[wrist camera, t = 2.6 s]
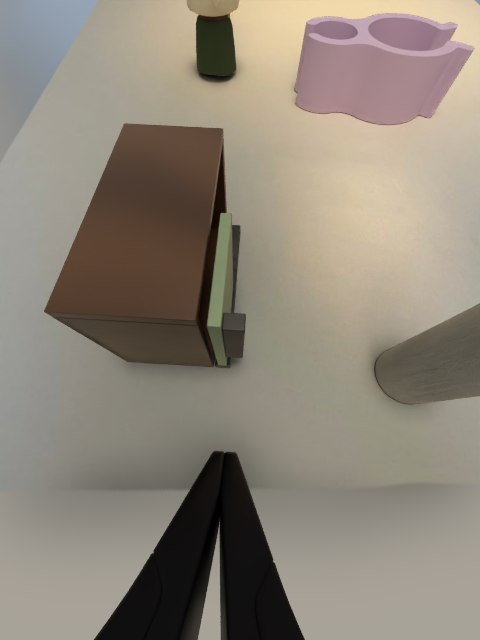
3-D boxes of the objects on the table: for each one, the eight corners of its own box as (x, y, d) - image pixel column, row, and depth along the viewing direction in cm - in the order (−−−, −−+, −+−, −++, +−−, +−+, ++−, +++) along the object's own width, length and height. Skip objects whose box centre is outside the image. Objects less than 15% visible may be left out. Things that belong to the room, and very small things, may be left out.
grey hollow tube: (437, 405, 19) (633, 385, 10) (380, 403, 19) (520, 381, 10) (421, 350, 21) (574, 287, 12) (369, 348, 21) (478, 284, 12)
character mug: (243, 89, 38) (246, -66, 26) (197, 91, 37) (179, -66, 25) (234, 56, 42) (233, -91, 30) (192, 57, 42) (175, -91, 30)
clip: (296, 120, 35) (310, 51, 28) (293, 76, 40) (304, 9, 33) (437, 127, 34) (483, 59, 28) (416, 81, 39) (450, 15, 33)
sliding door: (241, 366, 19) (245, 328, 12) (218, 365, 19) (206, 326, 12) (246, 285, 22) (251, 214, 15) (225, 284, 23) (220, 212, 15)
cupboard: (230, 368, 20) (225, 322, 11) (127, 361, 20) (43, 311, 11) (240, 228, 26) (242, 129, 17) (161, 224, 26) (123, 123, 18)
